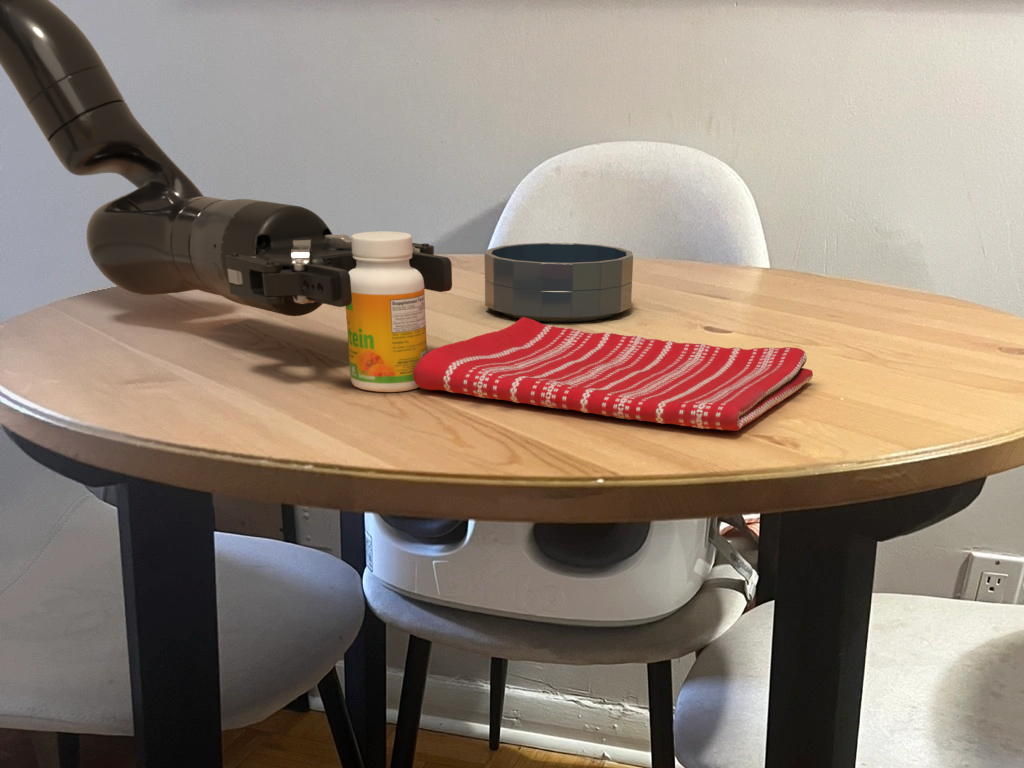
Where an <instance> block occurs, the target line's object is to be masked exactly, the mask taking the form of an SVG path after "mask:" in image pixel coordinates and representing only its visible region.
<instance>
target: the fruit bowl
mask: <svg viewBox="0 0 1024 768" xmlns="http://www.w3.org/2000/svg"><path fill="white" fill-rule="evenodd" d="M633 265H634V254H633V251H631V250H628V249H625V248H622V247H617V246H610V245H603V244H593V243H581V242H580V243H577V242H532V243H516V244H507V245H500V246H496V247H492V248H487V249H486V251H485V253H484V305H485V306H486V307H488V308H489V309H491V310H492V311H495V312H498V313H500V314H502V315H503V316H506V317H508V318H513V319H518V320H519V319H521V318H522V317H526V318H529V319H532V320H535V321H537V322H540V323H541V322H542V323H543V322H544V323H581V322H592V321H599V320H603V319H607V318H611V317H614V316H616V314H619V313H622V312H624V311H626V310H629V309H631V308H632V296H633V295H632V293H633V292H632V291H633V290H632V289H633V274H634V273H633V270H634V269H633V268H634V266H633Z"/></svg>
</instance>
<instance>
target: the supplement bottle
mask: <svg viewBox="0 0 1024 768" xmlns="http://www.w3.org/2000/svg"><path fill="white" fill-rule="evenodd" d="M350 238H351V239H352V254H353V258H354V259H356V263H357V265H356V268H354V269H352V270H350V271H349V272H348V273H349V275H350V281H351V295H352V302H351V305H349V306H345V312H346V314H345V315H346V330H347V345H348V359H349V361H348V362H349V374H350V375H349V376H350V382H351V384H352V386H354V387H355V388H357V389H361V390H363V391H371V392H377V393H378V392H379V393H401V392H407V391H412V390H415V389H419V388H420V387H419V386H418V385H417V384H416V383H415V381H414V378H413V370H414V368H415V366H416V364H417V362H418V361H419V360H420V359H421V358H422V357H423V356H424V355H425V354H427V353H428V346H427V345H428V343H427V321H426V320H427V319H426V317H427V316H426V296H425V293H426V292H425V289H424V280H423V277H422V275H421V273H420V272H419V271H418V270H416V269H415V268H412V267H410V264H409V259H411V258H412V253H413V248H412V243H413V237H412V234H410V233H407V232H403V231H390V230H389V231H384V230H382V231H378V230H376V231H364V232H363V231H362V232H357V233H354V234H352V235H351V237H350Z"/></svg>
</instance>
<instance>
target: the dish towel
mask: <svg viewBox="0 0 1024 768" xmlns="http://www.w3.org/2000/svg"><path fill="white" fill-rule="evenodd" d="M807 359H808V356H807V354H806V352H805V350H803V349H802V348H800V347H792V346H784V347H772V346H771V347H754V348H750V349H748V348H747V349H746V348H745V349H744V348H742V347H738V346H737V347H736V346H735V347H721V346H712V345H710V344H706V343H705V344H703V343H691V342H676V341H673V340H661V339H658V338H657V339H656V338H646V337H643V336H638V335H627V334H618V333H613V332H606V331H605V332H587V331H584V330H581V329H576V328H570V327H559V326H554V325H552V324H543V323H541V322H540V321H535V320H532V319H529V318H526V317H522V318H521V319H518V320H517V321H516V322H515V323H512V324H511V325H509V326H507V327H504V328H502V329H500V330H497V331H491V332H487V333H483V334H480V335H476V336H474V337H471V338H469V339H464V340H459V341H456V342H454V343H449V344H444V345H441V346H438V347H436V348H434V349H432V350H430V351H427V354H425V355H424V356H423V357H422V358H421V359H420V360H419V361H418V362H417V364H416V366H415V368H414V370H413V378H414V381H415V383H416V384H417V385H418V386H419V387H418V388H420V389H423V390H427V391H445V392H448V393H452V394H463V395H467V396H468V395H469V396H473V397H478V398H483V399H489V400H490V399H491V400H501V401H508V402H512V403H517V404H527V405H528V404H529V405H533V406H540V407H545V408H550V409H551V408H552V409H561V410H572V411H577V412H580V413H585V414H595V415H599V416H600V415H601V416H604V417H613V418H617V419H626V420H637V421H642V422H643V421H644V422H651V423H658V424H667V425H677V426H682V427H692V428H697V429H702V430H703V429H704V430H705V429H706V430H719V431H733V432H735V431H736V432H737V431H740V430H741V429H742V428H744V427H745V426H747V425H748V424H750V423H751V422H753V421H754V420H756V419H757V418H759V417H761V416H762V415H763V414H765V413H766V412H768V411H769V410H771V409H772V408H773V407H775V406H776V405H778V404H779V403H781V402H782V401H784V400H785V399H787V398H788V397H790V396H792V395H793V394H794V393H796V392H797V391H798V390H800V389H801V388H802V387H803V386H804V385H806V384H807V383H808V382H810V381H811V380H813V375H814V373H813V370H812V369H811V368H810V369H809V368H805V367H804V366H805V364H806V362H807Z"/></svg>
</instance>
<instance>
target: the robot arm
mask: <svg viewBox="0 0 1024 768" xmlns="http://www.w3.org/2000/svg"><path fill="white" fill-rule="evenodd" d="M0 66H1V68H2V69H3V71H4V73H5V74H6V76H7V77H8V78H9V80H10V82H11V83H12V85H13V86H14V88H15V90H16V91H17V93H18V95H19V96H20V98H21V100H22V101H23V103H24V105H25V106H26V108H27V110H28V111H29V112H30V115H31V116H32V118H33V120H34V121H35V123H36V125H37V127H38V128H39V129H40V132H42V134H43V135H44V138H45V139H46V141H47V143H48V144H49V146H50V148H51V149H52V151H53V153H54V155H55V156H56V158H57V159H58V161H59V162H60V164H61V165H62V166H63V167H64V169H66V171H67V172H69V173H70V174H72V175H73V176H74V175H75V176H78V177H79V176H80V177H84V176H94V175H100V174H116V175H119V176H121V177H122V178H124V179H125V180H127V181H128V182H130V184H132V185H133V186H134V187H136V188H137V189H135V190H133V191H130V192H128V193H125V194H123V195H122V196H119V197H117V198H114V199H112V200H110V201H108V202H106V203H104V204H102V205H100V207H98V208H97V209H96V210H95V211H93V213H92V215H91V216H90V217H89V220H88V223H87V226H86V245H87V249H88V253H89V255H90V257H91V259H92V261H93V263H94V264H95V267H97V269H98V270H99V272H101V274H102V275H104V277H105V278H106V279H107V280H109V281H110V282H111V283H112V284H114V285H115V286H116V287H119V288H120V289H122V290H124V291H127V292H130V293H133V294H137V295H142V296H143V295H144V296H153V295H154V296H155V295H167V294H178V293H185V292H190V291H200V292H204V293H207V294H208V293H209V294H212V295H215V296H220V297H223V298H224V299H227V300H228V301H231V302H233V303H236V304H239V305H242V306H247V307H251V308H255V309H260V310H263V311H268V312H271V313H275V314H279V315H283V316H289V317H300V316H306V315H309V314H311V313H313V312H315V311H317V309H319V308H321V306H322V305H323V304H325V305H329V306H333V307H337V308H343V307H346V306H349V305H351V302H352V295H351V281H350V275H349V273H348V272H349V271H350V270H352V269H354V268H356V265H357V263H356V259H354V258H353V254H352V239H351V237H350V236H349V235H347V234H333V232H332V230H331V229H330V228H329V226H328V224H326V222H325V221H324V219H322V218H321V217H320V216H319V215H318V214H316V212H314V211H313V210H311V209H308V208H306V207H303V206H300V205H294V204H287V203H286V204H285V203H278V202H272V201H266V200H265V201H264V200H257V199H251V198H236V199H226V198H219V197H218V198H217V197H213V196H212V197H211V196H205V195H204V194H203V193H202V191H201V190H200V189H199V188H198V187H197V186H196V184H195V183H194V182H193V181H192V180H191V179H190V177H188V175H187V174H186V173H185V172H184V171H183V170H181V168H180V167H179V166H178V165H177V164H176V163H175V162H174V160H172V159H171V158H170V157H169V155H168V154H167V153H166V152H165V151H164V150H163V149H162V148H161V146H160V145H159V144H158V143H157V142H156V141H155V140H154V138H153V137H152V136H151V134H149V133H148V131H146V129H145V128H144V127H143V126H142V124H141V123H140V122H139V120H137V118H136V117H135V116H134V114H133V112H132V111H131V109H130V107H129V106H128V104H127V102H126V100H125V98H124V96H123V95H122V93H121V91H120V89H119V88H118V86H117V84H116V82H115V81H114V79H113V77H112V75H111V74H110V72H109V70H108V69H107V67H106V65H105V64H104V62H103V59H102V58H101V57H100V55H99V53H98V51H97V50H96V49H95V46H93V43H91V41H90V39H88V37H87V35H85V33H84V32H83V30H82V29H81V28H80V27H79V26H78V25H77V24H76V23H75V22H74V21H73V20H72V19H71V18H70V17H69V16H68V15H67V14H66V13H65V12H63V10H61V9H60V8H59V7H58V6H57V5H55V4H54V3H53V2H52V1H51V0H0ZM412 248H413V253H412V258H411V259H409V264H410V267H412V268H415V269H416V270H418V271H419V272H420V273H421V275H422V277H423V280H424V290H427V291H432V292H438V293H444V292H449V291H451V290H452V288H453V269H452V267H453V265H452V260H451V259H450V258H449V257H447V256H443V255H436V254H434V253H435V246H434V245H431V244H430V243H425V242H424V243H418V242H412Z"/></svg>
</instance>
